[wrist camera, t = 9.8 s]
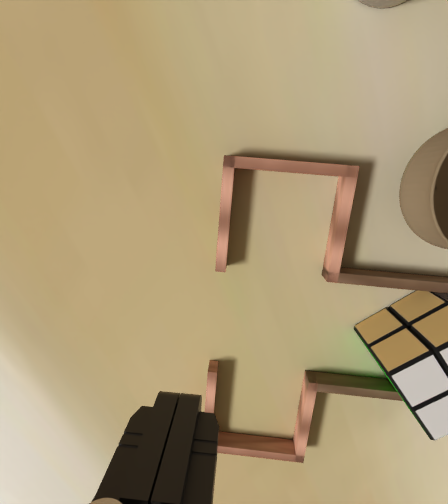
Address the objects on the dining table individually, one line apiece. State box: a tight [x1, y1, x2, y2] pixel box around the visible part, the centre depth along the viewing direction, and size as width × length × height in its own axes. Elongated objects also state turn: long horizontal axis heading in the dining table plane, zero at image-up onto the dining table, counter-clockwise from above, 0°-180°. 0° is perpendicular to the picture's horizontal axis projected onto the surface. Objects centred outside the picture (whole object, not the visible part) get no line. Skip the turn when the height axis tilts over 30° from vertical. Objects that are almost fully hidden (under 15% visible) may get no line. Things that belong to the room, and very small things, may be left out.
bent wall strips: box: [205, 155, 448, 463], centre depth 38 cm, size 40×36×2 cm
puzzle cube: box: [354, 290, 448, 440], centre depth 34 cm, size 10×10×10 cm
